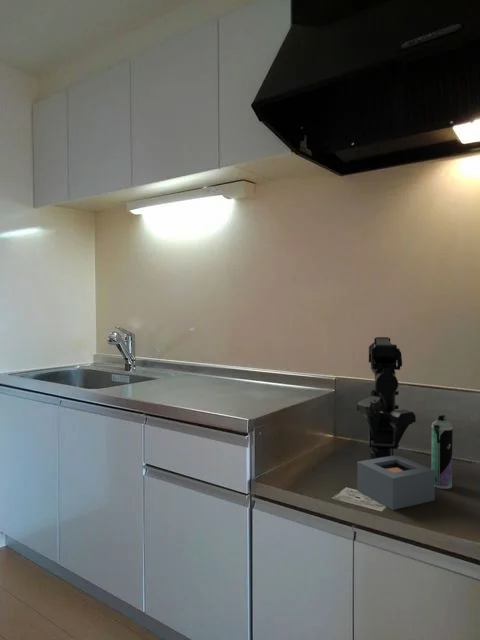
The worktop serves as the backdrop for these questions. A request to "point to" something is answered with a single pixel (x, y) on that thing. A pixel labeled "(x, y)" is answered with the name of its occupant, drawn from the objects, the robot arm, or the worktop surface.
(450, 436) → the spray can
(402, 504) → the box
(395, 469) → the salmon square block
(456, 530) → the worktop surface
